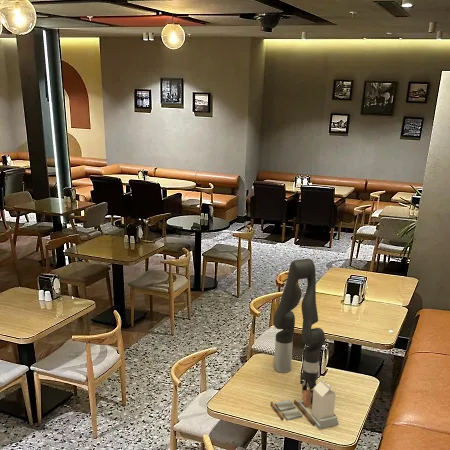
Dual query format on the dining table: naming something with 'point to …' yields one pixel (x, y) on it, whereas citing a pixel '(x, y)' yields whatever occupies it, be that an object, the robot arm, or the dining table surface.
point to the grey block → (323, 422)
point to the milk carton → (323, 401)
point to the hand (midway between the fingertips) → (308, 398)
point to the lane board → (292, 413)
